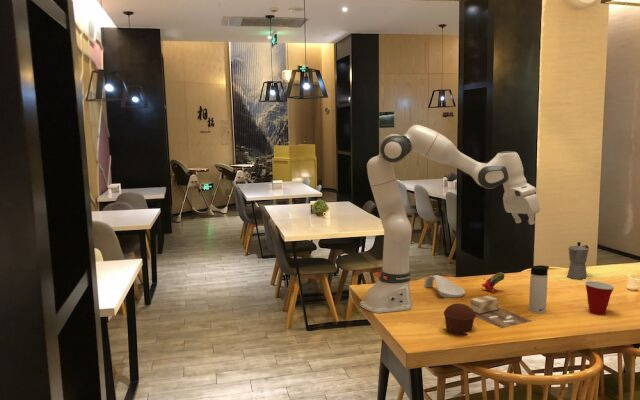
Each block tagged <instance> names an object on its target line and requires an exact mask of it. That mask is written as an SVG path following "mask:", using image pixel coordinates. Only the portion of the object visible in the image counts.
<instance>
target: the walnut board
mask: <svg viewBox="0 0 640 400" xmlns="http://www.w3.org/2000/svg"><path fill="white" fill-rule="evenodd" d="M475 314H476V313H475ZM509 315H510V316H513V318H511V319H510V320H513V321H514V323H506V324H504V323H503V321H508V320H505V318H506V317H508V316H509ZM492 316H499V317H498V318H496V319H492V320H490V319H488V317H492ZM476 318H477V319H479V320H480V321H484V322H485V323H488V324H491V325H493V326H495V327H497V328H500V329H505V328H509V327H513V326H518V325H521V324H526V323H530V322H533V320H531V319H529V318H526V317H523V316H521V315H519V314H517V313H513V312H510V311H507V310H505V309H503V308H500V307H498V311H495V312H490V313H486V314H481V315H478V314H476V317H475V319H476Z"/></svg>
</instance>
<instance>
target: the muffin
mask: <svg viewBox="0 0 640 400" xmlns="http://www.w3.org/2000/svg"><path fill="white" fill-rule="evenodd" d="M443 315H444V318H445V326H446V332H447V333H449V334H450V335H455V336H458V337H459V336H460V337H461V336H462V337H463V336H465V337H466V336H469V334H467V333H468V332H470V331H472V329H473V327H474V326H473V324H474V320H475V319H476V314H475V312H474V311H473V310H472V309H471V308H470V306H468V305H467V304H465V303H464V304H463V303H452V304H450V305H448V306H447V307H446V308H445V309H444V311H443Z"/></svg>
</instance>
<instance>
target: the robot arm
mask: <svg viewBox="0 0 640 400" xmlns="http://www.w3.org/2000/svg"><path fill="white" fill-rule="evenodd" d="M379 151H380V152H379V154H378V155H376V156H373V157H371V158H369V160H368V162H367V164H366V170H367V178H368V181H369V185H370V189H371V193H372V194H373V195H372V196H373V198H374V199H373V200H374V202H375V205H376V208H377V212H378V215H379V219H380V222H381V225H382V228H383V248H382V249H383V250H382V251H383V252H382V270H381V272H377V271H376V272H374V277H377V278H378V280H377V281H376V282H375V283H374V284H373V285H372V286H371V287H370V288H369V289H367V291H366V293H365V299H364V300H362V301H360V302H359V306H360V307H361V308H363V309H365V310H366V311H369V312H372V313H376V314H380V313H382V314H383V313H389V312H391V313H392V312H400V311H408V310H411V307H412V306H413V301H412V296H411V289H410V281H411V271H410V253H411V252H410V251H411V243H412V225H411V222H410V220H409V218H408V215H407V212H406V209H405V204H404V201H403V196H402V193H401V190H400V187H399V186H400V185H399V183H398V179H397V176H396V174H395V169H394V164H395V163H398V162H400V161H402V160H403V159H404V158H406V156H407V155H409V154H410V153H412V152H414V153H417V154H419V155H420V156H422V157H424V158H426V159H428V160H430V161H432V162H436V163H438V164H444V165H450V166H452V167H454V168H457V169H459V170H460V171H462V172H463V173H465V174H467V175H469V176H470V177H471V178H472V179H473V181H474V183H476V184H477V185H478V186H479V187H482V188H485V189H490V190H491V189H495V188H497V187H499V186H502V185H503V190H504V192H503V197H502V200H503V201H502V202H503V208H504V211H505V212H506V213H510V214H511V215H512V217H513V219H514V221H515V223H516V224H520V223H522V219H521V217H520V216H519V214H521V215H522V214H523V215H527V216H528V220H527V223H528V225H530V226H531V225H535V223H536V221H535V217H536V216H535V214H538V213H540V211H541V207H540V202H539V201H540V200H539V198H538V195H537V194H536V193H537V188H536V187H535V186H533V185H531V184H530V183H528V182H527V178H526V177H525V173H524V166H523V163H522V160H521V158H520V155H519V154H518V153H519V152H516V151H514V150H506V151H499V152H497V154H496V155H495V156H494V157H493V158H492V159H490V160H489V161H488V162H480V161H477V160H475V159H473V158H472V157H470V156H468V155H466V154H464V153H463V152H461V151H460V150H459V149H458V148H457V147H456V146H455V144H454V143H453V141H451V140H450V139H449V138H447V137H446V136H445V135H443V134H441V133H440V132H437V131H436V130H434V129H431V128H429V127H426V126H423V125H421V124H414V125H412V126H410V128H408V129H407V131H406V132H405V134H403V135H402V134H399V133H390V134H388V135H386V136H385V137H384V138H383V139H382V140H381V144H380V146H379Z"/></svg>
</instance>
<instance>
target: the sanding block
mask: <svg viewBox="0 0 640 400" xmlns="http://www.w3.org/2000/svg"><path fill="white" fill-rule="evenodd" d="M469 303H470V305H469V307H470V308H471V309H472V310H473V311H474V312H475V313H476V314H478V315H481V314H486V313H490V312H495V311H498V308H499V298H497V297H495V296H493V295H492V296H491V295H489V294H488V295H484V296H479V297H473V298H470V302H469Z"/></svg>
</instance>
